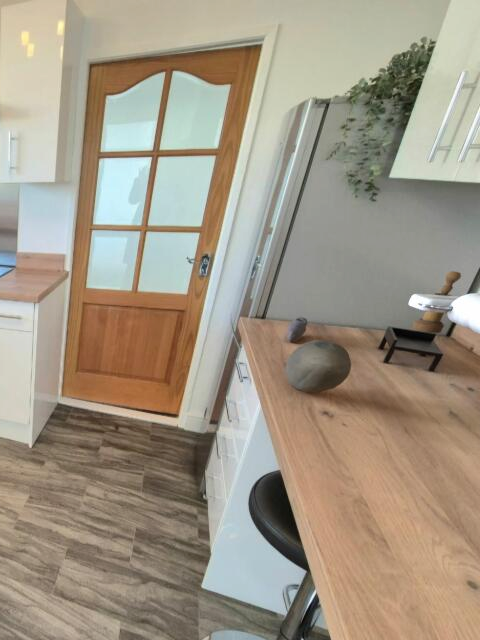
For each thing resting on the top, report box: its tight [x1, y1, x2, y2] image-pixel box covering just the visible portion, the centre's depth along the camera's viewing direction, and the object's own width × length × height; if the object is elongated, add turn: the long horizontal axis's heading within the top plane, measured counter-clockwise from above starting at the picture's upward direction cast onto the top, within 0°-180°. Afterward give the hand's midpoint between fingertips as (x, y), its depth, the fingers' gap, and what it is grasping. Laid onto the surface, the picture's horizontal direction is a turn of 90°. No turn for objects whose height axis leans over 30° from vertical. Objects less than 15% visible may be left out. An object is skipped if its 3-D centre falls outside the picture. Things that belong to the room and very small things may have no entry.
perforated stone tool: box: [286, 316, 308, 343], centre depth 158 cm, size 15×5×7 cm, turn 135°
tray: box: [378, 326, 444, 373], centre depth 141 cm, size 12×16×8 cm
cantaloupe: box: [285, 339, 352, 394], centre depth 118 cm, size 14×14×15 cm
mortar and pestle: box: [412, 270, 462, 334], centre depth 130 cm, size 7×6×18 cm
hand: (440, 297), depth 130 cm, fingers closed on mortar and pestle, 4 cm apart
